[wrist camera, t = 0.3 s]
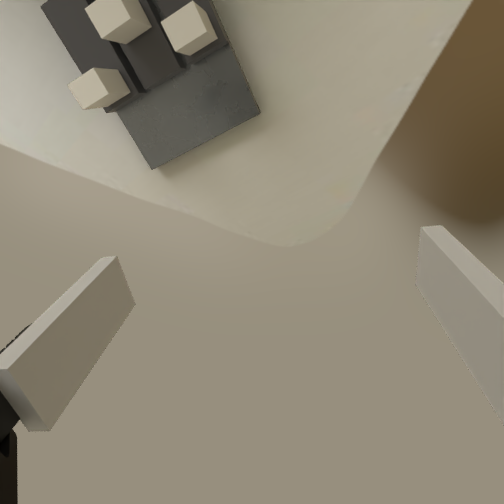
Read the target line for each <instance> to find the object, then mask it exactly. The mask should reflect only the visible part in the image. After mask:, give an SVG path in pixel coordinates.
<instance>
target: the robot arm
mask: <svg viewBox="0 0 504 504" xmlns="http://www.w3.org/2000/svg"><path fill="white" fill-rule="evenodd" d="M415 285H416V287H417V288H418V290H419V292H420V293H421V295H422V296H423V298H424V299H425V301H426V303H427V304H428V306H429V307H430V309H431V310H432V312H433V314H434V315H435V317H436V319H437V320H438V322H439V323H440V325H441V327H442V328H443V329H444V331H445V333H446V335H447V336H448V338H449V339H450V341H451V342H452V344H453V346H454V347H455V349H456V351H457V352H458V354H459V355H460V357H461V358H462V360H463V362H464V363H465V365H466V366H467V368H468V370H469V371H470V373H471V374H472V376H473V378H474V379H475V381H476V382H477V384H478V386H479V387H480V389H481V390H482V392H483V393H484V395H485V397H486V398H487V400H488V401H489V403H490V405H491V406H492V408H493V409H494V411H495V413H496V414H497V416H498V417H499V419H500V420H501V422H502V424H503V425H504V283H503V282H501V281H500V280H499V279H498V278H497V277H496V276H495V275H494V274H493V273H492V272H491V271H490V270H489V269H488V268H487V267H485V266H484V265H483V264H482V263H481V262H480V261H479V260H478V259H477V258H476V257H475V256H474V255H473V254H472V253H470V252H469V251H468V250H467V249H466V248H465V247H464V246H463V245H462V244H461V243H460V242H459V241H458V240H457V239H456V238H454V237H453V236H452V235H451V234H450V233H449V232H448V231H447V230H446V229H445V228H444V227H443V226H442V225H438V226H428V227H421V230H420V241H419V251H418V263H417V274H416V284H415ZM134 306H135V302H134V299H133V296H132V294H131V291H130V289H129V286H128V284H127V281H126V278H125V276H124V273H123V270H122V268H121V265H120V263H119V260H118V257H117V256H111V257H102V258H101V259H100V260H98V261H97V262H96V263H95V264H94V265H93V266H92V267H91V268H90V269H89V270H88V271H87V272H86V273H85V274H84V275H83V276H82V277H81V278H80V279H79V280H77V281H76V282H75V283H74V284H73V285H72V286H71V287H70V288H69V289H68V290H67V291H66V292H65V293H64V294H63V295H62V296H61V297H60V298H59V299H58V300H57V301H56V302H54V303H53V304H52V305H51V306H50V307H49V308H48V309H47V310H46V311H45V312H44V313H43V314H42V315H41V316H40V317H39V318H38V319H37V320H36V321H35V322H33V323H32V324H30V325H29V326H27V327H26V328H25V329H24V330H22V331H21V332H20V333H19V334H18V335H17V336H16V337H15V340H12V341H11V342H10V343H9V344H8V345H7V346H6V348H4V349H2V350H1V351H0V504H17V502H18V501H17V436H16V433H15V432H14V431H13V429H12V428H13V427H14V426H15V425H16V423H17V422H18V421H19V420H21V421H22V423H23V424H24V426H25V427H26V428H27V430H28V431H50V430H51V429H52V427H53V426H54V424H55V423H56V421H57V420H58V418H59V417H60V415H61V414H62V412H63V411H64V409H65V408H66V407H67V405H68V404H69V402H70V400H71V399H72V398H73V396H74V395H75V393H76V392H77V390H78V389H79V387H80V386H81V384H82V383H83V381H84V380H85V378H86V377H87V376H88V374H89V373H90V371H91V370H92V368H93V367H94V365H95V364H96V362H97V361H98V359H99V358H100V356H101V355H102V353H103V352H104V350H105V349H106V347H107V346H108V344H109V343H110V341H111V340H112V338H113V337H114V336H115V334H116V333H117V331H118V330H119V328H120V327H121V325H122V324H123V322H124V321H125V319H126V318H127V316H128V315H129V313H130V312H131V310H132V309H133V307H134Z"/></svg>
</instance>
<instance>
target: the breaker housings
mask: <svg viewBox="0 0 504 504" xmlns="http://www.w3.org/2000/svg"><path fill="white" fill-rule="evenodd" d="M94 1H96V0H48V1H47V2H46V3H44V4H43V5H42V6H41V8H42V10H43V12H44V13H45V15H46V17H47V18H48V20H49V21H50V23H51V25H52V26H53V28H54V29H55V31H56V33H57V34H58V36H59V37H60V39H61V41H62V42H63V44H64V46H65V47H66V49H67V50H68V52H69V54H70V55H71V57H72V58H73V60H74V62H75V63H76V65H77V66H78V68H79V70H80V71H81V73H82V75H81V76H80V77H78V78H77V79H75V80H74V81H72V82H71V83H69V84H68V85H67V86H68V87H69V89H70V91H71V92H72V94H73V95H74V97H75V98H76V100H77V101H78V103H79V105H80V106H81V108H82V109H83V110H86V109H94V108H101V107H103V108H104V110H105V112H106V113H110V112H116V111H117V110H119V109H121V108H122V107H124V106H126V105H127V104H129V103H131V102H132V101H134V100H135V99H137V98H139V97H140V96H142V95H144V94H145V93H146V91H145V89H154V88H155V87H157V86H158V85H160V84H162V83H163V82H165V81H167V80H168V79H170V78H172V77H173V76H175V75H177V74H178V73H180V72H182V71H183V70H185V69H186V67H185V65H184V63H183V61H182V59H181V57H180V55H179V53H182V54H183V56H184V58H185V60H186V62H187V64H192V65H193V64H195V63H196V62H198V61H200V60H201V59H203V58H205V57H206V56H208V55H210V54H211V53H213V52H214V51H216V50H218V49H219V48H221V47H223V46H224V45H226V44H228V43H229V40H228V38H227V35H226V33H225V31H224V29H223V26H222V24H221V22H220V19H219V17H218V15H217V13H216V10H215V8H214V6H213V3H212V1H211V0H156V1H157V3H158V5H159V7H160V9H161V11H162V13H163V15H164V17H165V19H164V20H163V21H162V19H161V17H160V15H159V13H158V11H157V9H156V7H155V5H154V3H153V1H152V0H138V1H139V3H140V5H141V7H142V9H143V11H144V12H145V14H146V16H147V18H148V20H149V22H150V24H151V26H152V27H151V28H150V29H148V30H147V31H145V32H144V33H142V34H141V35H139V36H138V37H136V38H135V39H133V40H132V41H130V42H129V43H127V44H122V43H118V42H114V41H110V40H106V39H102V38H101V37H100V35H99V33H98V31H97V30H96V28H95V26H94V24H93V23H92V21H91V19H90V17H89V16H88V14H87V12H86V10H85V8H86V7H88V6H89V5H90V4H92V3H93V2H94ZM119 44H120V45H121V46H120V45H119ZM121 47H122V48H121ZM122 49H123V50H122ZM123 51H124V52H125V54H126V55H125V54H124V52H123ZM178 52H179V53H178ZM126 56H127V57H126ZM127 58H128V59H127ZM128 60H129V61H130V63H131V64H130V63H129V61H128ZM131 65H132V66H131ZM132 67H133V68H132ZM133 69H134V70H135V71H134V70H133ZM135 72H136V73H135ZM136 74H137V75H136ZM137 76H138V77H137ZM138 78H139V79H140V80H139V79H138ZM140 81H141V82H140ZM141 83H142V84H141ZM142 85H143V86H144V88H145V89H144V88H143V86H142Z"/></svg>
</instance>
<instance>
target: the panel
mask: <svg viewBox="0 0 504 504" xmlns="http://www.w3.org/2000/svg"><path fill="white" fill-rule="evenodd" d="M152 1H153V3H154V5H155V7H156V9H157V11H158V13H159V15H160V17H161V19H162V21H163V20H164V19H165V17H164V15H163V13H162V11H161V9H160V7H159V5H158V3H157V1H156V0H152ZM211 1H212V0H211ZM212 3H213V2H212ZM213 6H214V4H213ZM214 8H215V7H214ZM215 10H216V9H215ZM216 13H217V11H216ZM217 15H218V14H217ZM218 17H219V16H218ZM219 19H220V18H219ZM220 22H221V20H220ZM221 24H222V23H221ZM222 26H223V25H222ZM223 29H224V27H223ZM224 31H225V30H224ZM225 33H226V32H225ZM226 35H227V34H226ZM227 38H228V36H227ZM228 40H229V39H228ZM119 45H120V44H119ZM120 46H121V45H120ZM121 48H122V47H121ZM122 50H123V49H122ZM123 52H124V51H123ZM178 53H179V52H178ZM124 54H125V52H124ZM125 55H126V54H125ZM179 55H180V57H181V59H182V61H183V63H184V65H185V67H186V69H185V70H183V71H182V72H180V73H178V74H177V75H175V76H173V77H172V78H170V79H168V80H167V81H165V82H163V83H162V84H160V85H158V86H157V87H155V88H154V89H145V88H144V86H143V85H142V86H143V88H144V89H145V91H146V93H145V94H144V95H142V96H140V97H139V98H137V99H135V100H134V101H132V102H131V103H129V104H127V105H126V106H124V107H122V108H121V109H119V110H117V111H116V112H117V113H118V115H119V117H120V118H121V120H122V122H123V123H124V125H125V126H126V128H127V130H128V131H129V133H130V135H131V136H132V138H133V140H134V141H135V143H136V145H137V146H138V148H139V150H140V151H141V153H142V154H143V156H144V158H145V159H146V161H147V163H148V164H149V166H150V168H151V169H152V170H153V169H154V168H156V167H158V166H160V165H162V164H164V163H166V162H168V161H170V160H172V159H174V158H176V157H177V156H179V155H181V154H183V153H185V152H187V151H189V150H191V149H193V148H195V147H197V146H199V145H200V144H202V143H204V142H206V141H208V140H210V139H212V138H214V137H216V136H218V135H220V134H222V133H224V132H225V131H227V130H229V129H231V128H233V127H235V126H237V125H239V124H241V123H243V122H245V121H247V120H248V119H250V118H252V117H254V116H256V115H258V114H260V113H261V112H260V110H259V107H258V105H257V103H256V101H255V98H254V96H253V94H252V91H251V89H250V87H249V85H248V82H247V80H246V78H245V75H244V73H243V71H242V69H241V66H240V64H239V62H238V59H237V57H236V55H235V53H234V50H233V48H232V46H231V43H230V41H229V43H228V44H226V45H224V46H223V47H221V48H219V49H218V50H216V51H214V52H213V53H211V54H210V55H208V56H206V57H205V58H203V59H201V60H200V61H198V62H196V63H195V64H193V65H192V64H187V62H186V60H185V58H184V56H183V54H182V53H179ZM126 57H127V56H126ZM127 59H128V58H127ZM128 61H129V60H128ZM129 63H130V61H129ZM130 64H131V63H130ZM131 66H132V65H131ZM132 68H133V67H132ZM133 70H134V69H133ZM134 71H135V70H134ZM135 73H136V72H135ZM136 75H137V74H136ZM137 77H138V76H137ZM138 79H139V78H138ZM139 80H140V79H139ZM140 82H141V81H140ZM141 84H142V83H141Z"/></svg>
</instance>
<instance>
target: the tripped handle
mask: <svg viewBox="0 0 504 504" xmlns="http://www.w3.org/2000/svg"><path fill="white" fill-rule="evenodd" d="M85 10H86V12H87V14H88V16H89V17H90V19H91V21H92V23H93V24H94V26H95V28H96V30H97V31H98V33H99V35H100V37H101V38H102V39H106V40H110V41H114V42H118V43H122V44H127V43H129V42H130V41H132V40H133V39H135V38H136V37H138V36H139V35H141V34H142V33H144V32H145V31H147V30H148V29H150V28H151V27H152V26H151V24H150V22H149V20H148V18H147V16H146V14H145V12H144V11H143V9H142V7H141V5H140V3H139V1H138V0H96V1H94V2H93V3H92V4H90V5H89V6H88V7H86V8H85Z"/></svg>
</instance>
